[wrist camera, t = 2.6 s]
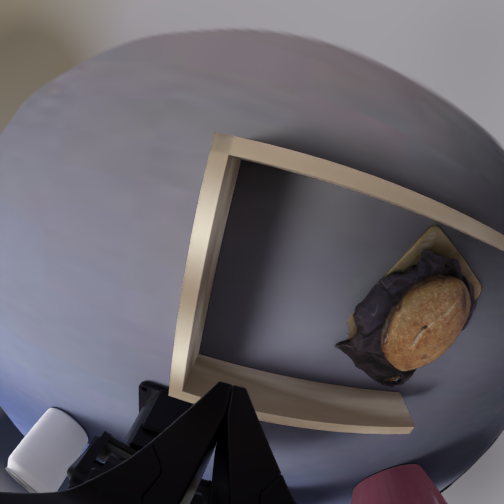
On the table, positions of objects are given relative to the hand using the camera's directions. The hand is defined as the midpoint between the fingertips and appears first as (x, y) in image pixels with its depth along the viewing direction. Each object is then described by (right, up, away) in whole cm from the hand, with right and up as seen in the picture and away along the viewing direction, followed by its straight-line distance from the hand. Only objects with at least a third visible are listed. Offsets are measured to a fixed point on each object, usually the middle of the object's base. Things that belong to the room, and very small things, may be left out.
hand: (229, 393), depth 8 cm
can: (-22, -17, +17) cm, 33 cm away
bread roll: (+12, 0, +9) cm, 15 cm away
